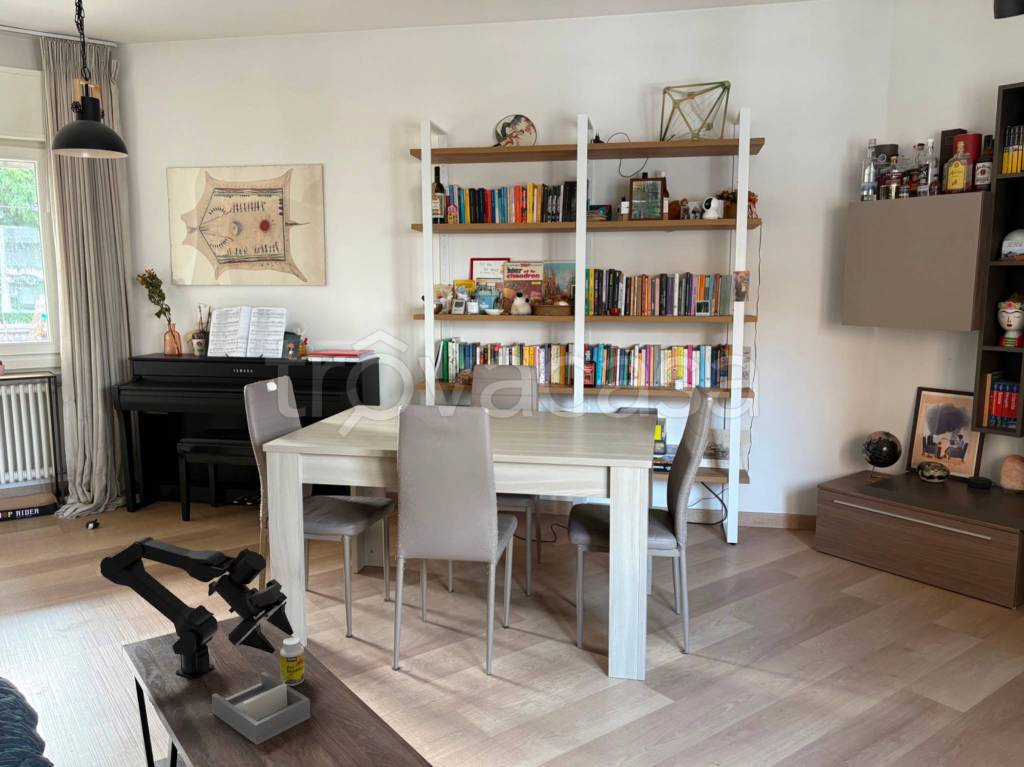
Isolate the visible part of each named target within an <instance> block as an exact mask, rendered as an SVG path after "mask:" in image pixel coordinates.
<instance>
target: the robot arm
mask: <svg viewBox="0 0 1024 767" xmlns="http://www.w3.org/2000/svg"><path fill="white" fill-rule="evenodd" d="M142 559H146V560H149V561H153V562H155V563H159V564H164V565H166V566H170V567H174V568H176V569H180V570H183V571H185V572H186V573H187V574H188V576H189V577H190V578H193V579H195V580H197V581H199V582H201V583H208V582H210V583H209V584H208V591H207V596H208V597H211V596H212V595H214V594H215V593H217V594H218V595H219V596H220V597H221V598H222V599H223V600H224V601H225V602H226V604H227V605H228V606H229V607H230V608H229V609H228V612H229V613H231V614H233V613H234V612H235V613H236V614H237V615H238V616H239V617H240V618H241V619H242V621H240V622H239V624H237V625H236V627H235V628H233V629H232V630H231V632H230V633H229V634H228V641H229V642H230V643H231V644H232V645H233V646H236V645H237V644H238V646H245V647H251V648H254V649H257V650H260V651H263V652H266V653H268V654H271V655H272V654H274V653H275V651H276V649H275V648H274V645H272V644H271V642H270V641H269V640H268V639H267V637H266V636H265V635H264V634H263V632H262V628H261V626H262V625H261V623H259V624H258V625H257V623H258V622H260V621H261V620H262V619H263V618H267V619H266V622H268V623H270V624H271V625H272V626H273V627H276V628H277V629H278V630H280V631H282V632H283V633H285V634H286V635H288V636H290V637H291V636H292V635H293V634H294V629H293V627H292V626H291V623H290V621H289V619H288V616H287V613H286V606H287V603H288V602H287V599H288V597H287V596H286V594H285V593H284V592H281V590H282V587H283V586H282V585H283V584H280V583H279V581H278V580H276V579H275V578H273V579H270V580H269V581H268V582H266V584H265V587H264V588H263V589H261V590H259V589H257V588H256V587H252V588H251V589H250V587H249V586H248V585H250V584H251V583H253V582H254V580H255V579H256V578H257V577H258V576H259V575H260V574H261V573H262V572H263V571H264V570H265V568H266V567H267V562H266V559H265V558H264V556H263V555H262V554H260V553H258V552H256V551H253V550H249V549H248V548H247V547H245V548H243V549H242V550H241V551H240V552H239V553H237V556H236V557H234V556H230V555H226V554H225V553H223V552H222V551H219V550H211V549H204V550H192V549H188V548H185V547H181V546H177V545H174V544H171V543H167V542H163V541H161V540H156V539H154V538H153V537H152V536H144V537H142V538H140V539H138V540H136V541H134V542H133V543H132V544H131V545H130V546H128V547H126V548H122V549H120V550H118V551H115V552H114V553H112V554H109V555H107V556H105V557H104V558H102V559H101V561H100V563H99V567H100V574H101V576H102V577H104V578H105V579H106V580H107V581H108V580H109V581H110V582H111V583H113V584H115V585H119V586H123V587H124V586H125V587H128V588H130V589H131V590H132V591H133V592H135V594H136V593H137V595H138V596H140V597H141V598H143V599H144V600H145V601H146V602H147V603H148V604H149V605H151V606H152V607H153V608H155V609H156V610H157V611H158V612H159V613H160V614H162V615H163V616H164V617H165V618H166V619H168V620H169V621H170V622H171V623H172V624H173V626H174V629H175V633H176V635H177V637H178V639H177V641H175V642H174V643H173V644H172V645H171V648H172V650H173V653H174V654H175V655H179V656H180V657H179V658H180V668H179V669H177V670H175V674H176V675H181V676H183V677H186V678H189V679H192V680H194V679H196V678H198V677H200V676H201V675H203V674H206V673H207V672H209V671H210V670H212V669H214V668H215V664H212V663H210V661H211V660H210V652H209V646H208V645H207V644H208V643H209V642H210V641H212V640H213V639H214V635H216V634H217V632H218V628H219V625H218V619H216V617H215V616H214V615H215V613H213V612H211V611H209V610H208V609H207V608H206V607H205V606H204V605H203V604H200V605H198V606H196V607H192V606H189V605H188V604H186V603H185V602H184V601H183V600H181V599H180V598H179V597H178V596H177V595H175V593H173V592H172V591H170V590H169V589H168V588H167V587H166V586H164V585H163V584H162V583H161V582H160V581H158V580H157V579H156V578H155V577H154V576H152V575H151V574H150V573H149V572H147V571H146V569H145V563H144V562H143V560H142ZM226 573H228V574H226ZM216 578H218V579H217V580H214V579H216ZM212 580H213V581H212Z"/></svg>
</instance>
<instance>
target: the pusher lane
mask: <svg viewBox="0 0 1024 767" xmlns="http://www.w3.org/2000/svg"><path fill="white" fill-rule="evenodd" d="M281 684H284V683H282V682H281V680H279V679H277V678H276V677H274V676H272V675H270V674H269V673H268V672H265V671H264V672H261V673H260V683H257V684H256V685H253V686H251V687H248V688H246V689H244V690H242V691H240V692H237V693H236V694H233V695H230V696H228V697H226V698H224V697H223V696H221V695H219V693H217V692H215V693H213V694H211V704H212V706H211V707H212V714H213V713H214V715H215V716H216V717H217V718H219V719H220V720H222V721H223V722H224V723H226V724H227V725H229V726H230V727H231V728H232V729H234V730H235V731H237V732H238V733H239V734H241V735H242V736H244V737H245V738H246V739H248V740H249V741H251V742H252V743H253V744H255V745H256V746H257V745H260V744H262V743H263V742H265V741H268V740H270V739H271V738H273V737H275V736H277V735H279V734H281V733H283V732H285V731H287V730H289V729H290V728H293V727H294V726H296V725H299V724H300V723H303V722H304V721H306V720H309V719H310V718H311V706H310V705H311V704H310V703H311V701H310V698H308V697H307V696H306V695H303V694H301V692H298V691H297V690H295V689H294V688H292V687H291V686H287V706H286V707H284V708H282V709H280V710H278V711H276V712H274V713H272V714H270V715H268V716H266V717H263V718H261V719H259V720H257V721H256V720H254V719H253V718H251V717H250V716H249V715H247V714H246V713H244V712H243V702H244V701H246V700H249V699H251V698H253V697H255V696H257V695H260V694H262V693H264V692H266V691H268V690H270V689H273V688H275V687H277V686H279V685H281Z"/></svg>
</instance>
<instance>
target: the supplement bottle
mask: <svg viewBox="0 0 1024 767" xmlns="http://www.w3.org/2000/svg"><path fill="white" fill-rule="evenodd" d="M304 648H305V647H304V646H303V645H302V644H301V639H300V638H299V637H298V636H292V637H291V636H290V637H287V638H285V639H284V640H283V641H282V648H280V651H279V661H280V662H279V664H280V682H282V683H284V684H286V685H287V686H289V687H293V686H297V685H300V684H302V683H303V682H304V680H305V676H306V673H305V667H306V666H305V649H304Z"/></svg>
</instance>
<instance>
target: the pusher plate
mask: <svg viewBox="0 0 1024 767" xmlns="http://www.w3.org/2000/svg"><path fill="white" fill-rule="evenodd" d="M286 706H287V685H286V684H281V685H279V686H277V687H275V688H273V689H270V690H268V691H266V692H264V693H262V694H260V695H257V696H255V697H253V698H251V699H249V700H246V701H244V702H243V712H244V713H246V714H247V715H249V716H250V717H251V718H253V719H254V720H256V721H257V720H259V719H261V718H263V717H266V716H268V715H270V714H272V713H274V712H276V711H278V710H280V709H282V708H284V707H286Z"/></svg>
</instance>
